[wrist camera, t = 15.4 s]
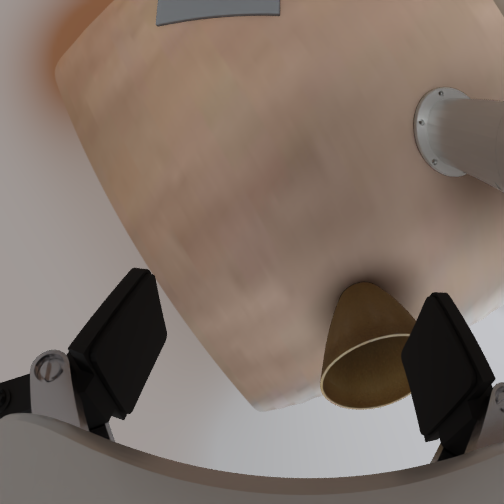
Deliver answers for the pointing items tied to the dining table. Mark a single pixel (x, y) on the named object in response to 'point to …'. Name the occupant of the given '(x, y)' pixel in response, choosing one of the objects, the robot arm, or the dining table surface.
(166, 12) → the mat
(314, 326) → the dining table surface
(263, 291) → the dining table surface
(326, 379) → the plant pot
